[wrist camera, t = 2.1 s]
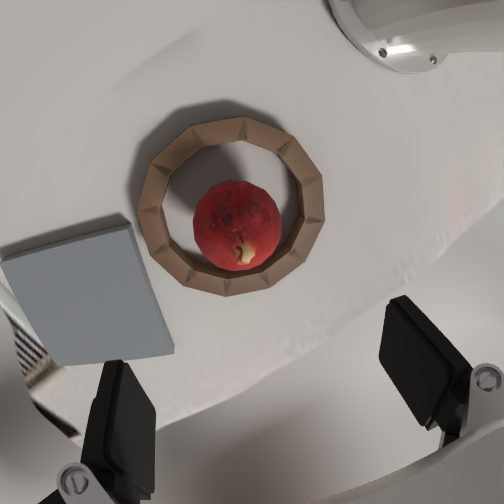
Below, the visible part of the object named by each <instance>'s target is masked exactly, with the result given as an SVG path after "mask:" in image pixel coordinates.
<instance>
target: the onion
mask: <svg viewBox="0 0 504 504" xmlns="http://www.w3.org/2000/svg"><path fill="white" fill-rule="evenodd" d="M281 225H282V219H281V216H280V214H279V211H278V208H277V206H276V203H275V201H274V200H273V199H272V198H271V197H270V195H269V194H268V193H267V192H266V191H265V190H264V189H262V188H260V187H257V186H255V185H253V184H251V183H249V182H247V181H232V180H228V181H226V182H224V183H221V184H219V185H216V186H214V187H212V188H211V189H210V190H209V191H208V192H207V193H206V194H205V196H204V197H203V198H202V199H201V200H200V201H199V202H198V204H197V207H196V211H195V214H194V218H193V229H194V238H195V242H196V243H197V245H198V247H199V248H200V250H201V252H202V253H203V255H204V256H205V257H206V258H207V259H208V260H209V261H211V262H212V263H213V264H214V265H215V266H217V267H219V268H223V269H227V270H231V271H239V270H248V269H250V268H253V267H255V266H258V265H260V264H262V263H263V262H264V261H265V260H266V259H267V258H268V257H269V256H270V255H271V254H273V252H274V250H275V248H276V246H277V245H278V243H279V241H280V238H281Z"/></svg>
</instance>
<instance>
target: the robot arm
mask: <svg viewBox="0 0 504 504" xmlns="http://www.w3.org/2000/svg"><path fill="white" fill-rule="evenodd" d="M329 4H330V7H331V10H332V12H333V15H334V17H335V19H336V20H337V22H338V24H339V26H340V28H341V29H342V30H343V32H344V33H345V35H346V36H347V37H348V39H349V40H350V41H351V42H352V43H353V44H354V45H355V46H356V47H357V48H358V49H359V50H360V51H361V52H362V53H364V54H365V55H366V56H367V57H369V58H370V59H371V60H373V61H374V62H376V63H378V64H379V65H381V66H383V67H385V68H388V69H390V70H393V71H396V72H401V73H424V72H428V71H430V70H433V69H435V68H436V67H438V66H439V65H440V64H442V63H443V61H444V60H445V58H446V57H447V56H448V53H460V52H504V0H329ZM379 360H380V363H381V365H382V366H383V368H384V369H385V371H386V372H387V374H388V375H389V377H390V378H391V380H392V382H393V383H394V385H395V386H396V388H397V389H398V391H399V393H400V394H401V396H402V397H403V399H404V400H405V402H406V404H407V405H408V407H409V408H410V410H411V412H412V413H413V415H414V416H415V418H416V420H417V421H418V423H419V424H420V425H421V426H425V428H426V429H427V431H429V430H431V429H433V428H435V427H436V426H438V425H439V427H440V428H441V430H442V433H441V438H440V444H439V448H438V450H437V451H436V452H434V453H432V454H430V455H428V456H426V457H424V458H422V459H420V460H418V461H416V462H414V463H412V464H410V465H408V466H406V467H404V468H402V469H400V470H397V471H395V472H393V473H391V474H389V475H386V476H384V477H382V478H379V479H377V480H374V481H372V482H369V483H367V484H364V485H362V486H359V487H356V488H354V489H351V490H348V491H345V492H342V493H339V494H336V495H333V496H330V497H327V498H323V499H320V500H317V501H313V502H309V503H306V504H504V374H503V372H502V371H501V370H500V369H499V368H498V367H497V366H495V365H493V364H488V363H486V364H485V363H484V364H480V365H478V366H476V367H475V368H474V369H473V368H472V367H471V365H470V364H469V363H468V361H467V360H466V359H465V358H464V357H463V356H462V355H461V353H460V352H459V351H458V350H457V349H456V348H455V347H454V346H453V345H452V343H451V342H450V341H449V340H448V339H447V338H446V337H445V336H444V335H443V333H442V332H441V331H439V329H438V328H437V327H436V326H435V325H434V324H433V323H432V322H431V321H430V320H429V318H428V317H427V316H426V315H425V314H424V313H423V312H422V311H421V310H420V309H419V308H418V307H417V306H416V305H415V304H414V303H413V302H412V301H411V300H410V299H409V298H408V297H407V296H406V295H403V296H400V297H397V298H394V299H391V300H390V302H389V304H388V305H387V306H386V312H385V319H384V326H383V332H382V339H381V345H380V350H379ZM155 428H156V411H155V408H154V406H153V404H152V403H151V401H150V400H149V398H148V396H147V395H146V393H145V391H144V390H143V388H142V387H141V385H140V383H139V382H138V380H137V378H136V376H135V375H134V373H133V371H132V369H131V368H130V366H129V364H128V363H124V362H123V361H122V360H121V359H117V360H109V361H106V362H105V363H104V367H103V370H102V374H101V378H100V382H99V387H98V391H97V395H96V398H94V399H93V402H92V405H91V409H90V414H89V418H88V423H87V428H86V433H85V438H84V444H83V449H82V455H81V461H80V463H77V462H74V463H69V464H67V465H65V466H64V467H63V468H62V469H61V470H60V472H59V473H58V476H57V487H58V489H57V490H55V491H54V492H53V493H51V494H50V495H49V496H48V497H46V498H45V499H43V500H42V501H41V502H40V503H38V504H140V500H151V495H150V494H151V493H154V490H155V483H154V482H155V472H154V470H155Z"/></svg>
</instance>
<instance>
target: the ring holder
mask: <svg viewBox="0 0 504 504" xmlns="http://www.w3.org/2000/svg"><path fill="white" fill-rule="evenodd" d="M241 140H243V141H246V142H248V143H251V144H254V145H256V146H259V147H262V148H264V149H267V150H269V151H272V152H274V153H276V154H277V155H278V157H279V158H280V159H281V160H282V162H283V163H284V164H285V166H286V167H287V168H288V170H289V171H290V172H291V174H292V175H293V176H294V178H295V179H296V187H297V197H298V207H299V214H298V216H297V218H296V220H295V222H294V225H293V227H292V229H291V231H290V233H289V236H288V238H287V240H286V242H285V243H284V244H283V245H282V246H280V247H279V248H278V249H276V250H275V251H274V252H273V254H271V255H270V256H269V257H268V258H267V259H266V260H265V261H264V262H263V263H262V264H260V265H258V266H255V267H253V268H250V269H248V270H239V271H231V270H226V269H222V268H218V267H215V266H211V265H207V264H204V263H200V262H197V261H194V260H193V259H192V258H191V257H190V256H189V255H188V254H187V253H186V252H185V251H184V250H182V249H181V248H180V247H179V246H178V245H177V244H176V243H175V242H174V241H173V240H172V239H171V238H170V234H169V231H168V227H167V223H166V219H165V215H164V212H163V208H162V202H163V199H164V196H165V192H166V189H167V186H168V183H169V180H170V177H171V174H172V173H173V172H174V171H175V170H176V169H177V168H178V167H179V166H181V165H182V164H183V163H184V162H185V161H186V160H187V159H189V158H190V157H191V156H192V155H193V154H194V153H196V152H197V151H198V150H199V149H200V148H202V147H207V146H212V145H218V144H223V143H229V142H235V141H241ZM137 214H138V217H139V221H140V224H141V228H142V231H143V234H144V238H145V241H146V244H147V247H148V251H149V254H150V256H151V257H152V258H153V259H154V260H155V261H156V262H158V263H159V264H160V265H161V266H162V267H163V268H164V269H165V270H166V271H167V272H168V273H169V274H171V275H172V276H173V277H174V278H175V279H176V280H177V281H178V282H179V283H181V284H182V285H183V286H186V287H189V288H193V289H197V290H201V291H205V292H209V293H213V294H217V295H221V296H225V297H228V296H233V295H238V294H243V293H248V292H253V291H258V290H263V289H267V288H269V287H272V286H273V285H274V284H276V283H277V282H278V281H280V280H281V279H282V278H284V277H285V276H286V275H288V274H289V273H290V272H292V271H293V270H294V269H296V268H297V267H298V266H300V265H301V264H302V263H304V262H305V261H306V259H307V257H308V255H309V253H310V251H311V249H312V247H313V245H314V243H315V241H316V239H317V236H318V234H319V232H320V230H321V228H322V226H323V224H324V222H325V213H324V197H323V182H322V175H321V173H320V172H319V170H318V169H317V168H316V166H315V165H314V163H313V162H312V161H311V159H310V158H309V156H308V155H307V154H306V152H305V151H304V149H303V148H302V147H301V145H300V144H299V143H298V141H297V140H296V138H295V137H294V136H292V135H290V134H288V133H285V132H283V131H280V130H278V129H276V128H273V127H271V126H268V125H266V124H263V123H261V122H258V121H255V120H253V119H250V118H248V117H244V116H240V117H233V118H227V119H221V120H216V121H210V122H205V123H200V124H195V125H192V126H190V127H189V128H188V129H186V130H185V131H184V132H183V133H182V134H181V135H180V136H178V137H177V138H176V139H175V140H174V141H173V142H172V143H170V144H169V145H168V146H167V147H166V148H165V149H164V150H163V151H162V152H161V153H159V154H158V155H157V156H156V157H155V158H154V159H153V160H152V161H151V162H150V165H149V168H148V172H147V175H146V179H145V182H144V185H143V189H142V193H141V196H140V200H139V204H138V207H137Z"/></svg>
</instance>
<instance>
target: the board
mask: <svg viewBox="0 0 504 504" xmlns="http://www.w3.org/2000/svg"><path fill="white" fill-rule="evenodd" d="M0 265H1V268H2V270H3V272H4V274H5V276H6V279H7V281H8V283H9V285H10V287H11V289H12V291H13V293H14V295H15V297H16V299H17V301H18V302H19V304H20V306H21V308H22V310H23V312H24V314H25V315H26V317H27V319H28V321H29V322H30V324H31V326H32V327H33V329H34V331H35V332H36V334H37V336H38V337H39V339H40V341H41V342H42V344H43V345H44V347H45V348H46V350H47V352H48V353H49V355H50V356H51V358H52V359H53V361H54V362H55V363H56V365H57V366H71V365H84V364H95V363H105V362H106V361H109V360H117V359H121V360H122V361H124V360H133V359H141V358H149V357H156V356H163V355H170V354H174V348H175V345H174V343H173V340H172V338H171V335H170V333H169V330H168V328H167V325H166V323H165V320H164V318H163V315H162V313H161V310H160V307H159V305H158V302H157V299H156V297H155V294H154V291H153V289H152V286H151V283H150V280H149V277H148V274H147V272H146V269H145V266H144V263H143V260H142V257H141V254H140V251H139V248H138V244H137V241H136V238H135V235H134V232H133V228H132V225H131V223H130V224H125V225H121V226H117V227H113V228H109V229H105V230H101V231H97V232H93V233H89V234H85V235H82V236H78V237H74V238H70V239H66V240H63V241H59V242H55V243H52V244H48V245H45V246H41V247H38V248H34V249H31V250H27V251H24V252H21V253H17V254H14V255H11V256H7V257H5V258H4V259H3V260H2V261H1V262H0Z"/></svg>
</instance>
